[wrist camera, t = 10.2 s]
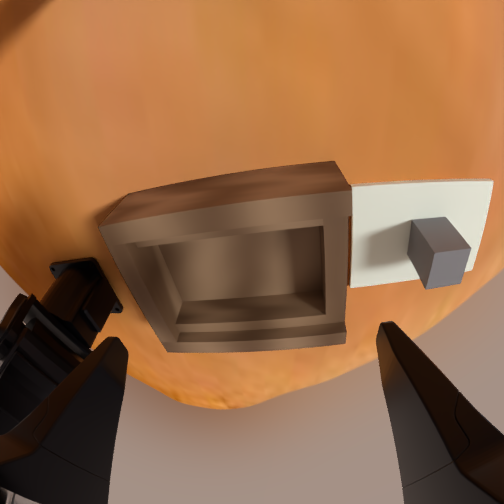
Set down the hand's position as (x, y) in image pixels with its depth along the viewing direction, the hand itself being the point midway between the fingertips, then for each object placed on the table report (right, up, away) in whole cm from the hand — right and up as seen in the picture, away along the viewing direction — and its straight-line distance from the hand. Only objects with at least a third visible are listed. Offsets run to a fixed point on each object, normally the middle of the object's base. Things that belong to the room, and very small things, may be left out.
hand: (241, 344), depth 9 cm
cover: (+13, +5, +10) cm, 18 cm away
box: (0, +3, +12) cm, 13 cm away
